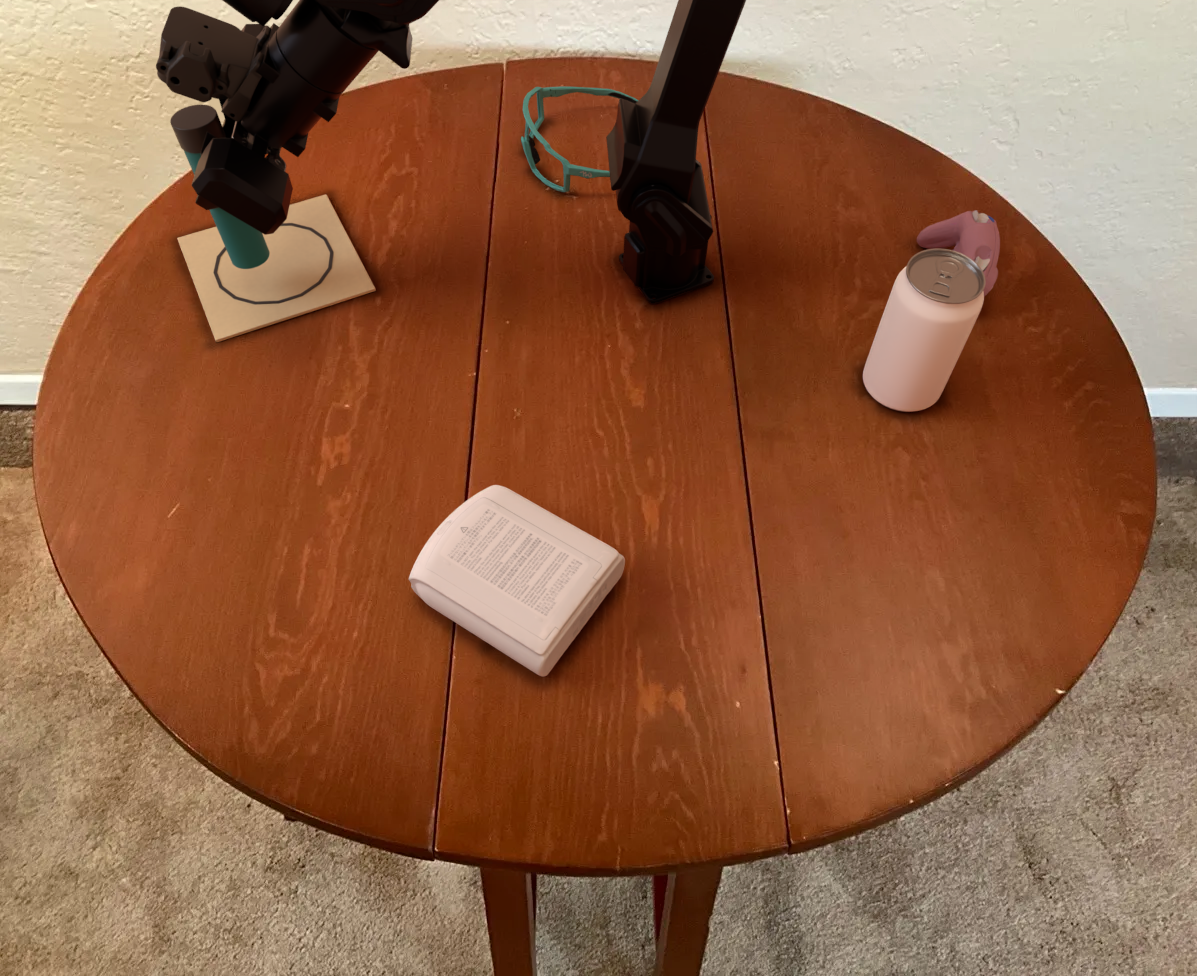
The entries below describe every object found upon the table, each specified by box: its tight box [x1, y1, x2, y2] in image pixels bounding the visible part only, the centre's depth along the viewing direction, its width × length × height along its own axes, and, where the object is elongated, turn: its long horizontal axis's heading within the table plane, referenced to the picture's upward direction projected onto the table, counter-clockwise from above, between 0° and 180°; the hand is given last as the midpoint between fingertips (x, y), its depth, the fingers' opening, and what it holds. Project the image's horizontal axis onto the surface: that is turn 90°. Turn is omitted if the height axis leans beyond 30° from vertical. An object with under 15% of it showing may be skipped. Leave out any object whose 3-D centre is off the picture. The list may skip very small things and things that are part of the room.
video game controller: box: [916, 209, 1001, 297], centre depth 84 cm, size 10×5×7 cm, turn 168°
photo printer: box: [408, 484, 626, 677], centre depth 66 cm, size 10×4×12 cm
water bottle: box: [169, 104, 270, 269], centre depth 77 cm, size 3×3×13 cm
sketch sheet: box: [176, 193, 377, 343], centre depth 86 cm, size 14×14×1 cm
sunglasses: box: [520, 85, 640, 193], centre depth 94 cm, size 14×15×5 cm
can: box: [862, 248, 986, 413], centre depth 74 cm, size 6×6×12 cm
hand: (205, 190), depth 77 cm, fingers closed on water bottle, 3 cm apart
